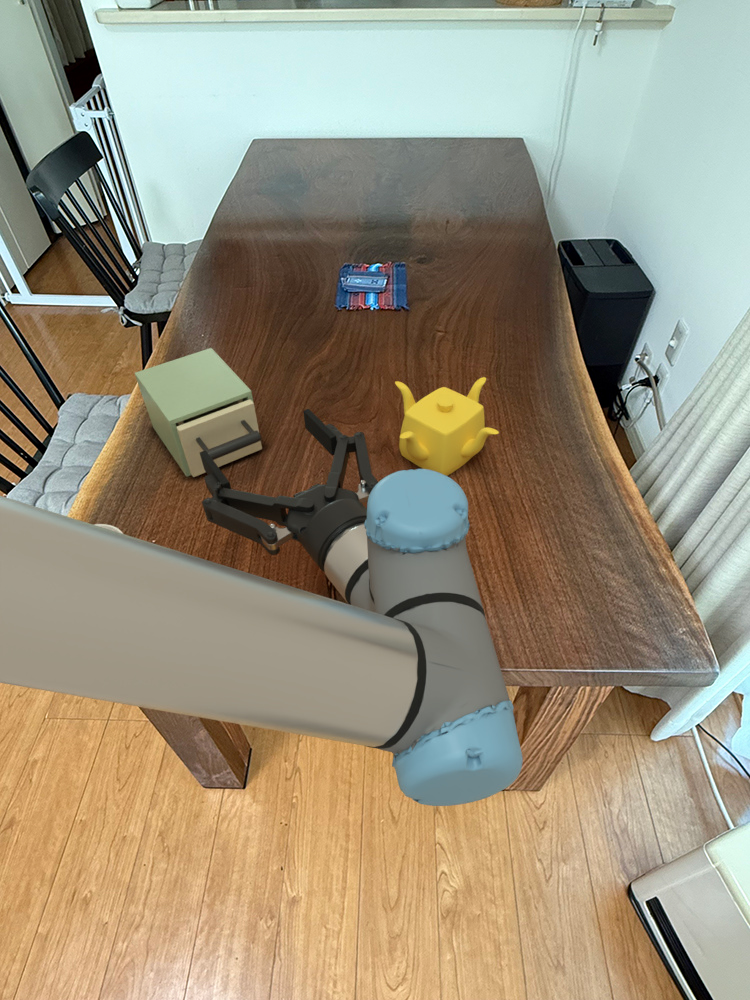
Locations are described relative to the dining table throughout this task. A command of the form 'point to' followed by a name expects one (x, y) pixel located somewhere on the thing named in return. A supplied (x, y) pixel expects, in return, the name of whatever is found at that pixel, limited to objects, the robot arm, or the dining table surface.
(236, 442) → the drawer
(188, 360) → the cabinet
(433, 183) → the dining table surface
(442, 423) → the teapot
